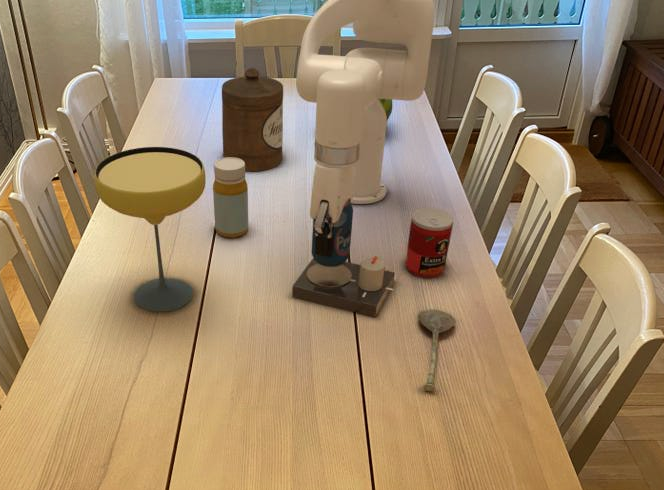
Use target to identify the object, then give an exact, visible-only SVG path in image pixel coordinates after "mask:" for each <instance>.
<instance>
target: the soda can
mask: <svg viewBox="0 0 664 490" xmlns="http://www.w3.org/2000/svg"><path fill="white" fill-rule="evenodd" d="M350 202H351V200H350V198H349V201H348V202H347V204H346V205H345V206H343V210H342V213H341V215H340V218H339V220H338V221H337V222H335V223H334V229H333V234H332V236H334V246H333V256H332V257H326V256H321V255H317V254H315V240H316V236H315V232H316V231H315V228H314V224H315V221H316V219H312V236H311V256H312V259H313V258H314V260H315V261H316V263H318V264H319V265H321V266H324V267H329V268H333V267H339V266H341V265H343V264H344V263H345V262H347V261H348V259H349V258H350V255H351V244H352V243H351V242H352V232H353V231H352V230H353V219H354V218H353V217H354V207H353V205H352V203H350ZM316 218H317V217H316ZM326 219H330V220H332V217H330V215H328V214H327V216H326ZM324 225H325V227H326V228H327V229H328V230H329V225H330V223H327V222H325V223H324Z"/></svg>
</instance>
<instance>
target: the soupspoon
mask: <svg viewBox="0 0 664 490" xmlns="http://www.w3.org/2000/svg"><path fill="white" fill-rule="evenodd" d="M417 318H418V320H419V322H420V323H421V324H422V325H423V326H424V327H425V328H427V330H429V331H430V332H431V333H432V340H431V343H432V344H431V354H430V367H429V373H428V374H427V375H428V377H427V379H426V382H425V384H424V385H423V386H422V387H423V390H425V391H427V392H433V391H434V390H435V389H436V387H435V385H434V380H435V379H434V377H435V369H436V362H437V361H436V360H437V350H438V341H439V334H440V333H444V332H446V331H449V330H450V329H451V328H453V327H454V326H455V325H456V322H457V321H456V319H455V317H454V316H452V314H450V313H448V312H445V311H442V310H438V309H428V310H423V311H421V312H419V313H418V314H417Z"/></svg>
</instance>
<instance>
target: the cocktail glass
mask: <svg viewBox="0 0 664 490" xmlns="http://www.w3.org/2000/svg"><path fill="white" fill-rule="evenodd" d="M93 178H94V180H93V181H94V187H95V191H96V194H97V196H98V198H99V199H100V200H101V202H102V203H103V204H104V205H105V206H106V207H108V208H109V209H111V210H113V211H114V212H117V213H118V214H122V215H125V216H128V217H133V218H140V219H144V220H145V221H147V222H148V224H150V225H152V226H153V227H154V236H155V237H154V238H155V244H156V245H155V247H156V254H157V265H158V278H157V279H152V280H149V281H147V282H145V283H143V284H141V285H140V286H139V287H137V289H136V290H135V292H134V294H133V295H134V296H133V299H134V303H135V304H136V305H137V306H138V307H140V308H141V309H143V310H146V311H148V312H153V313H167V312H168V313H169V312H174V311H176V310H179V309H181V308H183V307H185V306H186V305H188V304H189V303H190V302H191V300H192V299H193V294H194V292H193V288H192V287H191V285H190V284H188V283H187V282H185V281H183V280H181V279H176V278H170V277H169V278H167V277H166V278H165V275H164V267H163V260H162V259H163V258H162V252H161V243H160V242H161V241H160V235H159V225H160V224H161V223H162V222H164V220H165V218H166V217H169V216H172V215H175V214H178V213H180V212H183V211H184V210H187V209H188V208H189V207H191V206H192V205H193V204H195V203H196V202H197V201H198V200H199V199H200V198H201V197H202V195H203V194H204V191H205V188H206V183H207V182H206V181H207V179H206V170H205V166H204V163H203V162H202V160H201V159H200V158H199V157H198V156H197V155H195V154H193V153H192V152H189V151H186V150H183V149H180V148H174V147H166V146H146V147H136V148H132V149H131V148H130V149H126V150H123V151H119V152H116V153H114V154H111V155H109V156H107V157H106V158H104V159H103V160H102V161H100V162H99V163H98V165H97V166H96V168H95V169H94V176H93Z"/></svg>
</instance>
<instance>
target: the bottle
mask: <svg viewBox="0 0 664 490" xmlns="http://www.w3.org/2000/svg"><path fill="white" fill-rule="evenodd" d="M213 172H214V180H213V184H212V193H213V194H212V195H213V213H214V228H215V229H214V230H215V232H216V233H217V234H218V235H219V236H221V237H224V238H229V239H234V238H235V239H237V238H240V237H242V236H244V235H245V234H246V233H247V232H248V230H249V188H248V182H247V180H246V171H245V163H244V161H243V160H241V159H239V158H233V157H227V158H223V157H221V158H219V159H216V161H215V162H214V163H213Z"/></svg>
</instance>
